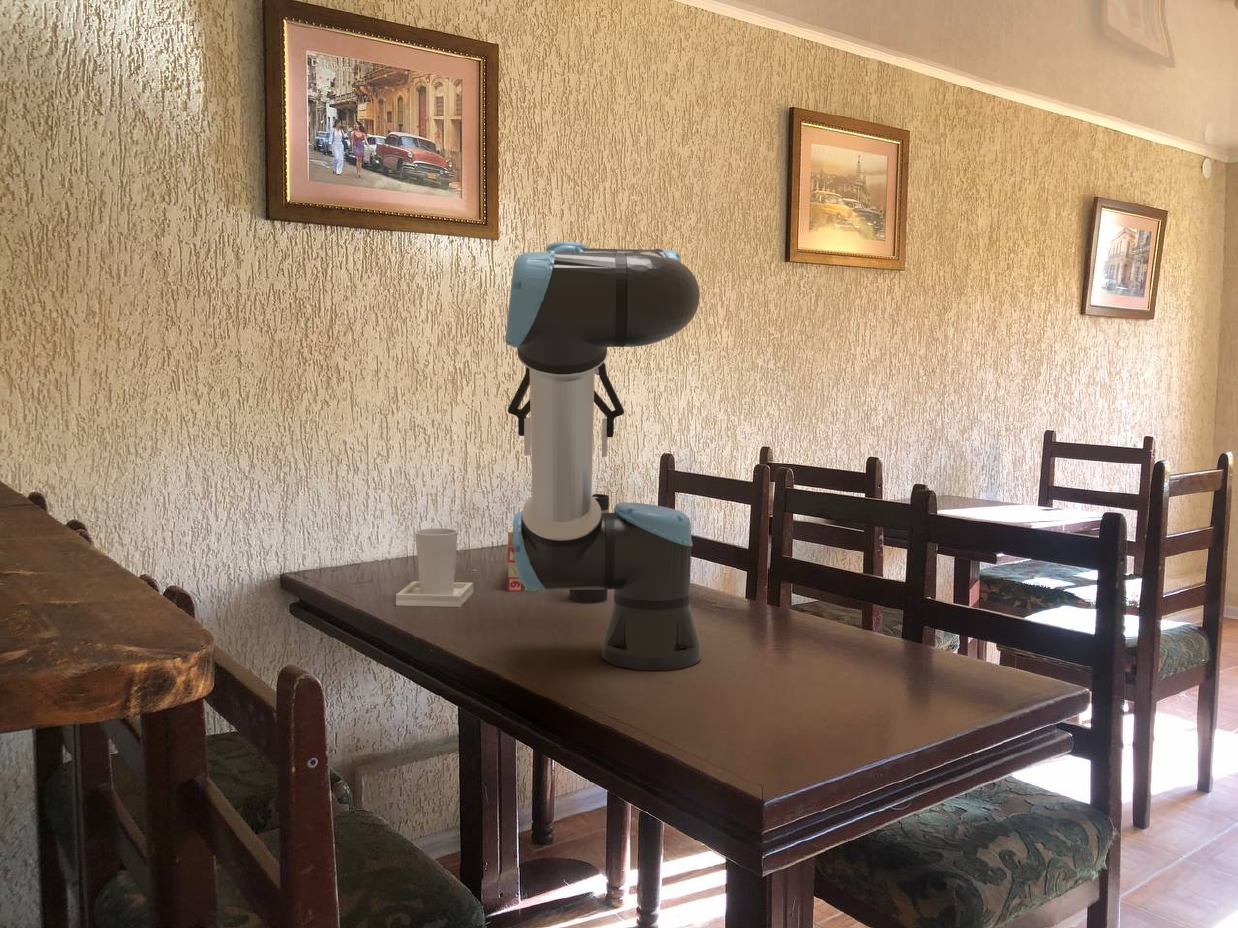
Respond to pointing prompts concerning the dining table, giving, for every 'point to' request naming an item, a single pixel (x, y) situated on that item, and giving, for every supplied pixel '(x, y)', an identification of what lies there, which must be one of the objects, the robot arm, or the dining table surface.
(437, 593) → the cup
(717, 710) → the dining table surface
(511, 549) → the stack of blocks
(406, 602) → the cream square tray
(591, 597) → the travel mug
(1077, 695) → the dining table surface
